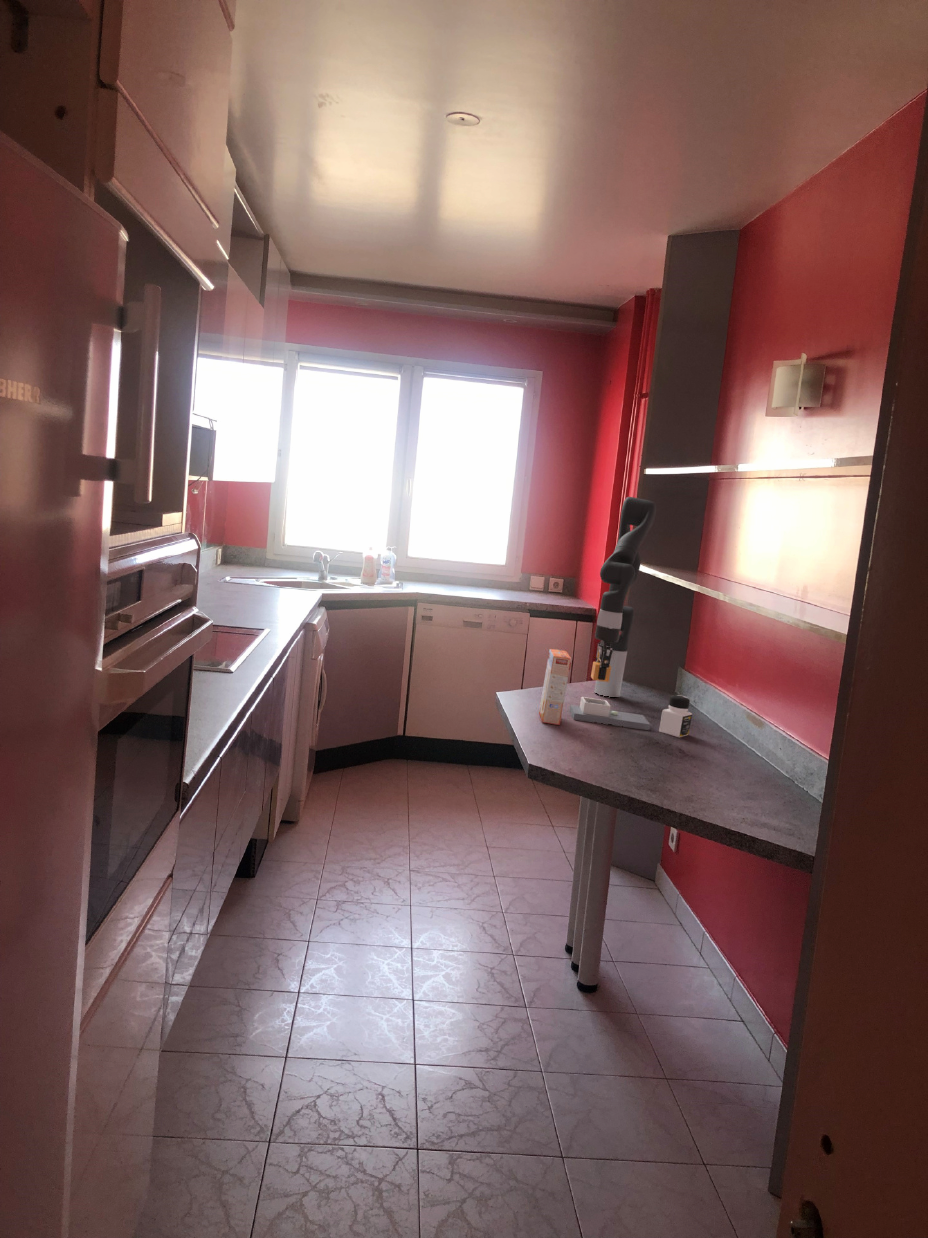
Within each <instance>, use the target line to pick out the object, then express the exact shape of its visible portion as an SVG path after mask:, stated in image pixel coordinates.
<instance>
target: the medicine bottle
mask: <svg viewBox="0 0 928 1238" xmlns="http://www.w3.org/2000/svg"><path fill="white" fill-rule="evenodd" d="M690 702H691V701H690V699H689V698H688V697H687V696H684V695H679V694H673V695H670V697H669V702H668V708H665V709H662V712H661V718H660V722H659V729H658V731H659V732H660V733H662V734H665V735H670V736H672V737H676V738H682V737H686V736H688V735H689V734H690V728H691V723H692V718H693V713H692V712H690V711H689V706H690Z"/></svg>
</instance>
